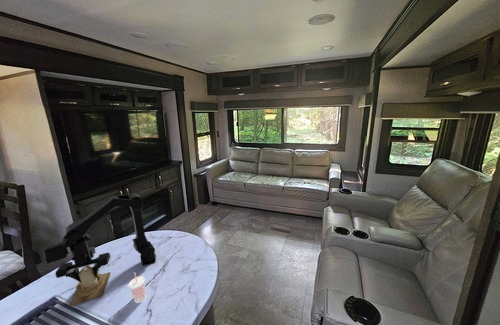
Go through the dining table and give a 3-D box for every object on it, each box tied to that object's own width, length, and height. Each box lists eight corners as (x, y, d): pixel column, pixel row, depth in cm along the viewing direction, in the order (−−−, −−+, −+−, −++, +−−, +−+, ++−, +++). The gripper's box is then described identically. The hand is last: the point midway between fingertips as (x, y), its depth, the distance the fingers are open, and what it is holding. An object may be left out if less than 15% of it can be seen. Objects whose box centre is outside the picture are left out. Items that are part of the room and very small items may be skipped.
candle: (90, 291, 90) (84, 273, 88) (80, 289, 92) (74, 272, 89) (101, 281, 96) (96, 264, 93) (91, 279, 97) (86, 262, 94)
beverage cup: (141, 305, 85) (135, 279, 81) (129, 303, 86) (122, 277, 82) (151, 293, 91) (145, 267, 87) (139, 291, 92) (133, 266, 88)
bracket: (110, 273, 103) (108, 267, 101) (102, 296, 90) (100, 289, 89) (81, 281, 98) (79, 275, 97) (69, 306, 86) (67, 299, 85)
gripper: (109, 235, 99) (116, 261, 103) (62, 245, 92) (71, 273, 97) (103, 249, 89) (111, 277, 93) (49, 262, 82) (60, 292, 87)
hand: (89, 279), depth 93 cm, fingers closed on candle, 5 cm apart
